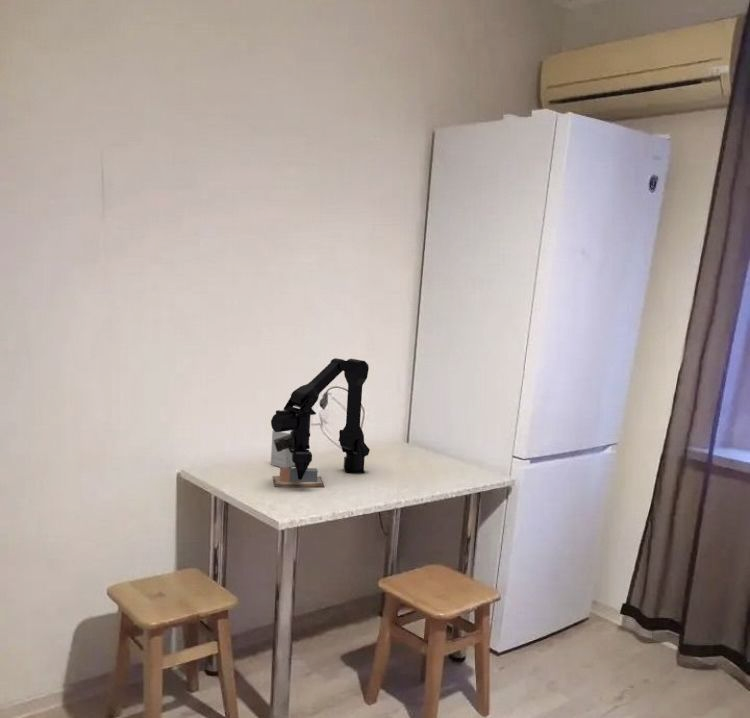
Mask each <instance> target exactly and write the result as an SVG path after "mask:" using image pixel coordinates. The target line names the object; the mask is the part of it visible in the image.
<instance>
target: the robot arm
mask: <svg viewBox="0 0 750 718" xmlns="http://www.w3.org/2000/svg"><path fill="white" fill-rule="evenodd" d="M369 368H370V367H369V363H367V362H366V361H365V360H362V359H356V358H348V359H346V360H345V359H344V358H343V359H342V358H337V357H335V358H333V359H331V360H330V363H329V364H327V365H326V366H325V367H324V368H323V369H322V370H321V371H320V372H319V373H317V375H316V376H315V377H314V378H313V379H312V380H310V381H309V382H308V383H306V384H303V385H301V386H299V387H298V388H295V390H293V391H292V392H291V394H290V398H288V400H287V402H286V404H285V406H284V407H283V409H282V410H280V409H279V410H275V414H273V416H272V418H271V420H270V425H271V428H272V431H273V430H274V431H275V432H283V431H290V430H292V431H291V433H290V435H288V436H284V437H281V438H278V439H275V440H274V444H275V447H276V450H277V452H280V451H282V450H284V449H287V448H289V451H290V452H291V453H292V461H293V462H294V463H295V466H294V468H297V475H298V479H299V480H301V479H302V478H303V476H304V474H305V472H306V470H307V468H309V465H311V463H312V461H313V454H312V452H311V451H310V448H311V447H310V437H311V432H310V431H311V416H314V415H317V412H315V410H314V409H313V407H314V406H315V405H316V403H317V402H318V400H319V397H320V394H321V393H322V392H323V391H324V390H325V389H326V388H327V387H328V386H329V384H331V383H332V382H333V381H334V380H335V379H336V378H337V377H338V376H339V375H340V374H341V373H344V374H343V375H344V379H345V380H346V383H347V397H346V398H347V399H346V400H347V402H346V417H345V418H346V420H345V425H344V427H343V428H342V429H340V430H339V432H338V433H339V434H338V435H339V437H338V441H337V442H339V445H340V446H341V450H342V451H341V452H342V453H345V456H344V457H343V470H344V471H345V473H349V474H365V472H366V471H365V458H366V457H367V456H369V453H370V450H371V449H370V448H369V446H368V445H367V444H366V443H365V435H364V432H363V430H362V426H361V417H362V399H363V398H362V396H363V385H364V384H365V382H366V381H367V379H368V377H369V376H368V374H369V370H370V369H369Z"/></svg>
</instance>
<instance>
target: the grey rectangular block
mask: <svg viewBox="0 0 750 718" xmlns="http://www.w3.org/2000/svg"><path fill="white" fill-rule="evenodd" d="M318 474H319V473H318V468H316V467H314V468H313V467H308V468H307V470H306V472H305V474H304V476H303V478H302V479H301V480H299V479H298V475H297V468H295V467H279V476H280V478H279V479H280V482H317V477H318Z"/></svg>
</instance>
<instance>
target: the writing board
mask: <svg viewBox="0 0 750 718" xmlns="http://www.w3.org/2000/svg"><path fill="white" fill-rule="evenodd" d="M279 478H280V475H273V476H272V481H273V486H274V488H325V484H324V482H323V480H322V477H321V476H317V482H280V479H279Z"/></svg>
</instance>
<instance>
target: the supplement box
mask: <svg viewBox="0 0 750 718" xmlns="http://www.w3.org/2000/svg"><path fill="white" fill-rule="evenodd" d="M291 431H292V430H290V431H283V432H275V431H274V430H273V429H272V433H271V437H272V438H271V454H270V465H272V466H275V467H279V468H280V467H289V468H292V467H295V463H294V462H293V461H292V453H291V452H290V451H289V448H287V449H284V450H282V451H280V452H277V450H276V447H275V444H274V440H275V439H278V438H281V437H284V436H288V435H290V433H291Z"/></svg>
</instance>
